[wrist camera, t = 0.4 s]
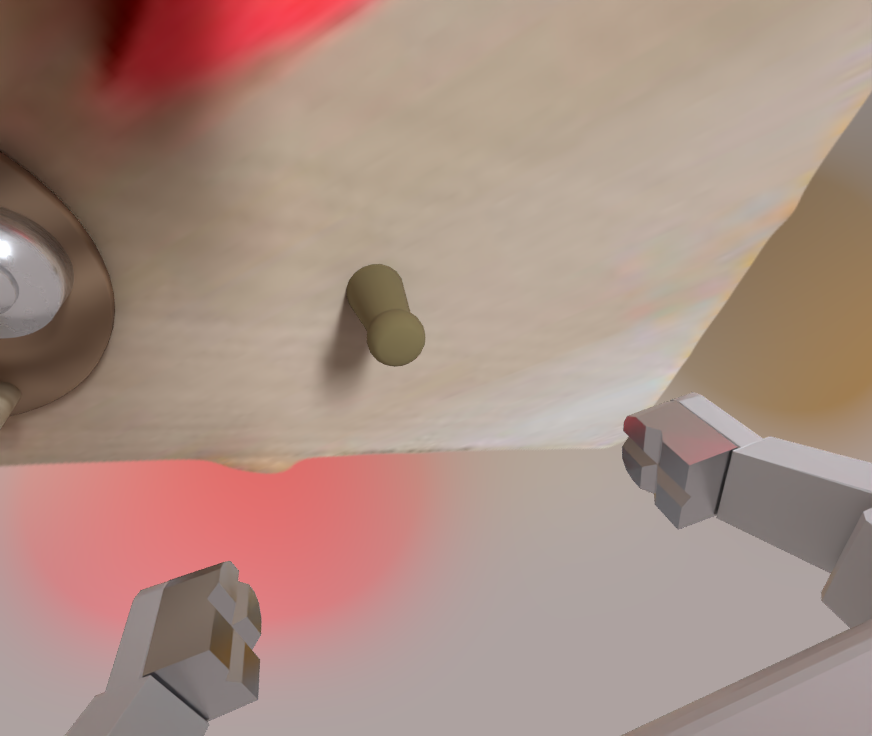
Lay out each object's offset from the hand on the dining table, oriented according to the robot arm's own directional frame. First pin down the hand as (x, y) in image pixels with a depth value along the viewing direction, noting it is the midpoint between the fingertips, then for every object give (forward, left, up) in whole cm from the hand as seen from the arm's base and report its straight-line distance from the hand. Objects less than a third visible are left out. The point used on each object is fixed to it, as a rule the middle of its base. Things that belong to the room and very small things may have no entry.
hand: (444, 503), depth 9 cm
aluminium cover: (+3, -24, -35) cm, 43 cm away
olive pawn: (+15, +3, -37) cm, 40 cm away
